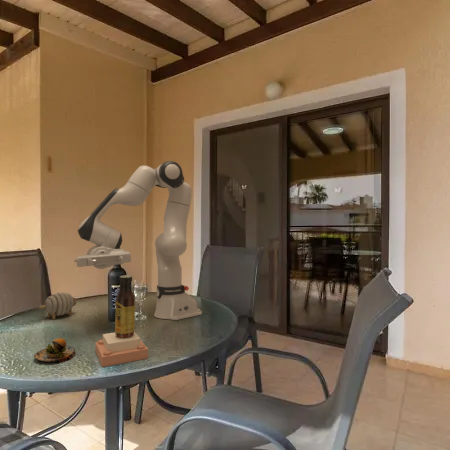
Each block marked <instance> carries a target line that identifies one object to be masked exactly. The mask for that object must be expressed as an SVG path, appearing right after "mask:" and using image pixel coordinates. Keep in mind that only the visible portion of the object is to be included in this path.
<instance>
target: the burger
mask: <svg viewBox="0 0 450 450" xmlns="http://www.w3.org/2000/svg"><path fill="white" fill-rule="evenodd" d="M64 333H65V332H64ZM64 333H62V335H64ZM75 355H76V348H74V347H73V346H70V345H67V341H66V339H64V338H63V337H61V338H55V339H53V340H52V345H51V344H50V343H48V345H47V346H46V348H44V349H41V350H39V351H37V352H35V354H34V356H33V357H34V359H36V360H38V361H41V362H46V363H47V362H48V363H49V362H59V364H61V363H65V362H67V359H68V358H69V359H70V360H72V359H73V358H74V357H75Z"/></svg>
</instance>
